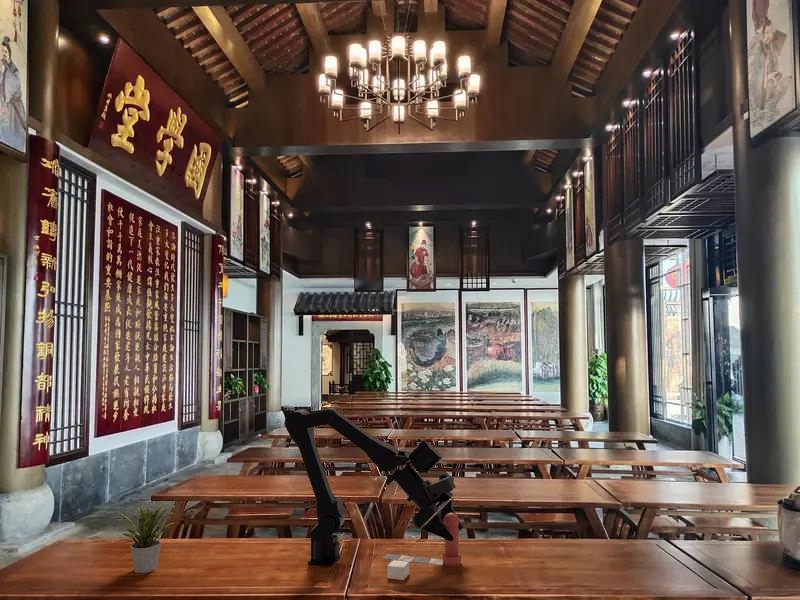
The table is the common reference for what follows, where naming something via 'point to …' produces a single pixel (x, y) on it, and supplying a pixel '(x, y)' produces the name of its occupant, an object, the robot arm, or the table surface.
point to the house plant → (146, 539)
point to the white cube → (398, 570)
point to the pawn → (452, 542)
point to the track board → (417, 559)
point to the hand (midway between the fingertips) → (457, 534)
